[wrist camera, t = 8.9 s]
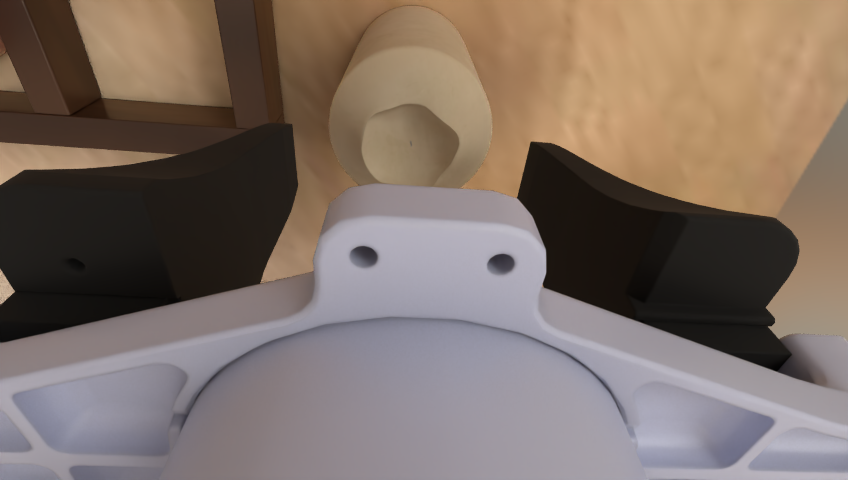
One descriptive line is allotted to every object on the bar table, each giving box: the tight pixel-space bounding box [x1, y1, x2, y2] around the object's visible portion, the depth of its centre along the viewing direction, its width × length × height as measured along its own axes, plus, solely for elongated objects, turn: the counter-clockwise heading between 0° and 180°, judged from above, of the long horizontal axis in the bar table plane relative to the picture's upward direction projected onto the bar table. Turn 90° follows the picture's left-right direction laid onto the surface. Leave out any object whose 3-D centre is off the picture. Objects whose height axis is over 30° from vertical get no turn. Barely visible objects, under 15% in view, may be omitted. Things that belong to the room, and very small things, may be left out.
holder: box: [0, 0, 285, 154], centre depth 19 cm, size 11×20×3 cm, turn 85°
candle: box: [329, 6, 492, 189], centre depth 18 cm, size 6×6×10 cm
